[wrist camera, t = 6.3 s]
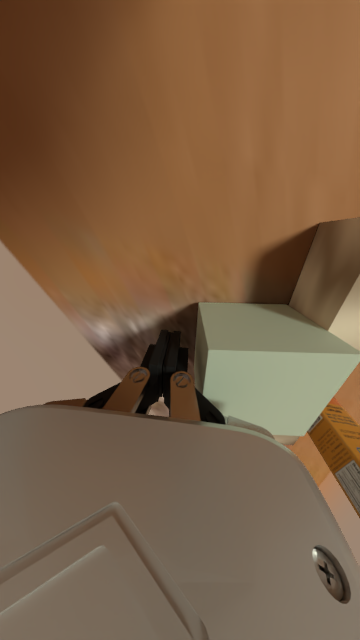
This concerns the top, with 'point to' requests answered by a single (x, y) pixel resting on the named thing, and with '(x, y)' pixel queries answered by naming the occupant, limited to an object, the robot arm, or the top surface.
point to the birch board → (331, 285)
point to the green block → (268, 364)
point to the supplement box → (340, 448)
